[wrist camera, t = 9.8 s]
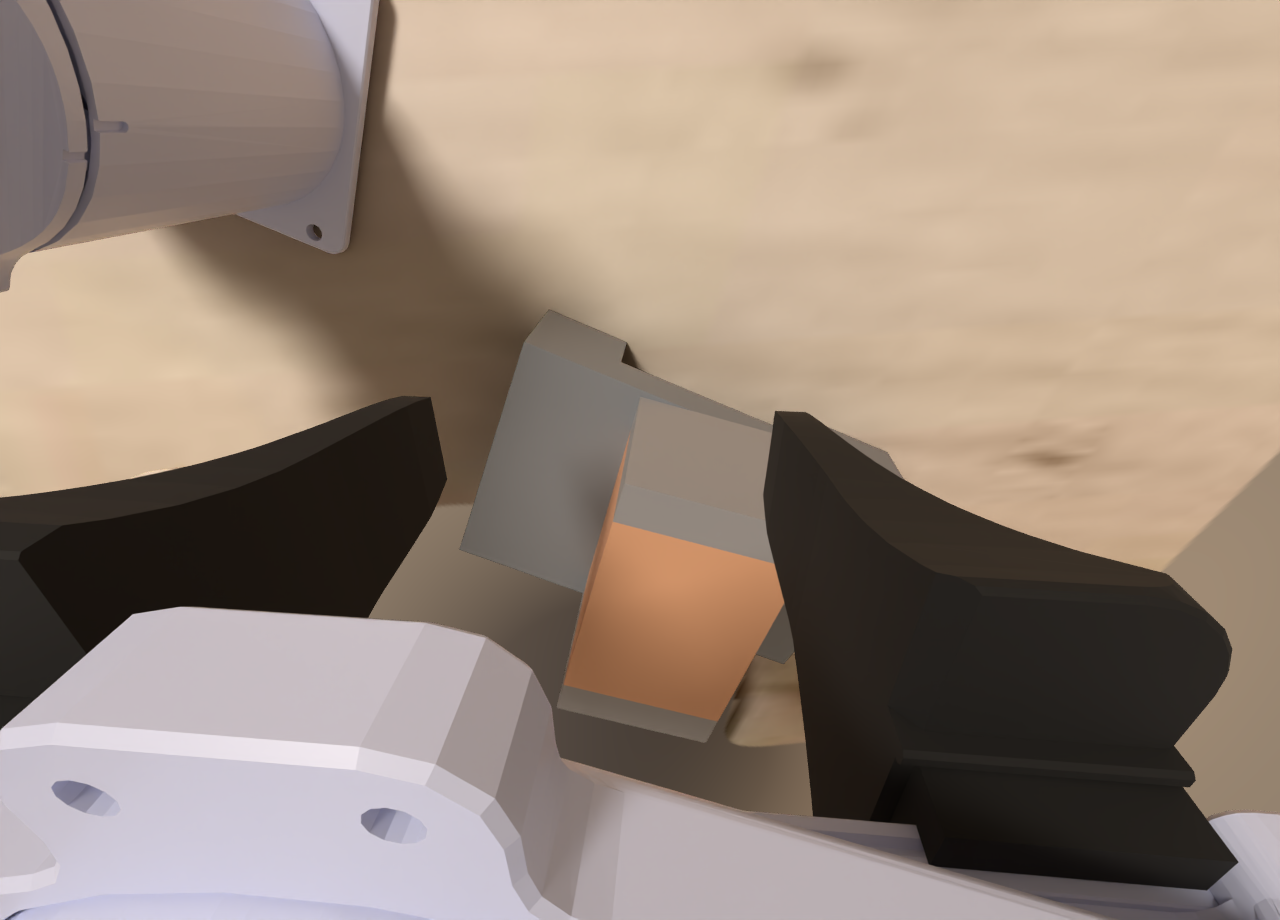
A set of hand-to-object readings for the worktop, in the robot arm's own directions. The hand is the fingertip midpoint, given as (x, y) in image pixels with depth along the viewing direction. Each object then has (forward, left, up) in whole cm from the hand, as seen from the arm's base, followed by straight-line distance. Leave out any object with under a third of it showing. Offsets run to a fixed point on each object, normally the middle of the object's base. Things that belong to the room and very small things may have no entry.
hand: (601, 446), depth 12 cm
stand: (+4, -6, -9) cm, 12 cm away
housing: (+4, -5, -6) cm, 9 cm away
